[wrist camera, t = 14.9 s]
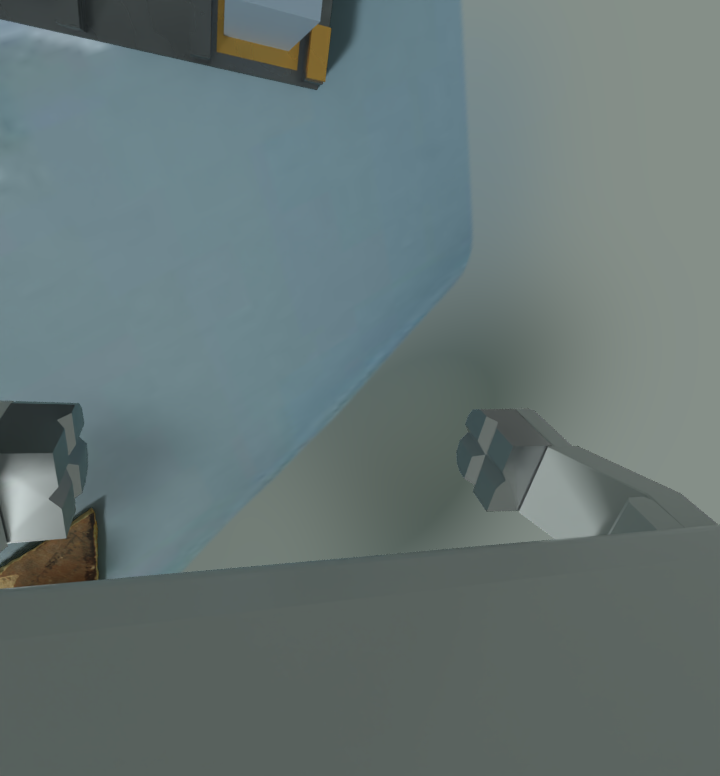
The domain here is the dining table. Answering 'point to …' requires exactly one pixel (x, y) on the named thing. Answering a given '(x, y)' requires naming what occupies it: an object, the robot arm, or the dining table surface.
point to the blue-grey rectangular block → (271, 21)
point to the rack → (180, 34)
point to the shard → (57, 558)
